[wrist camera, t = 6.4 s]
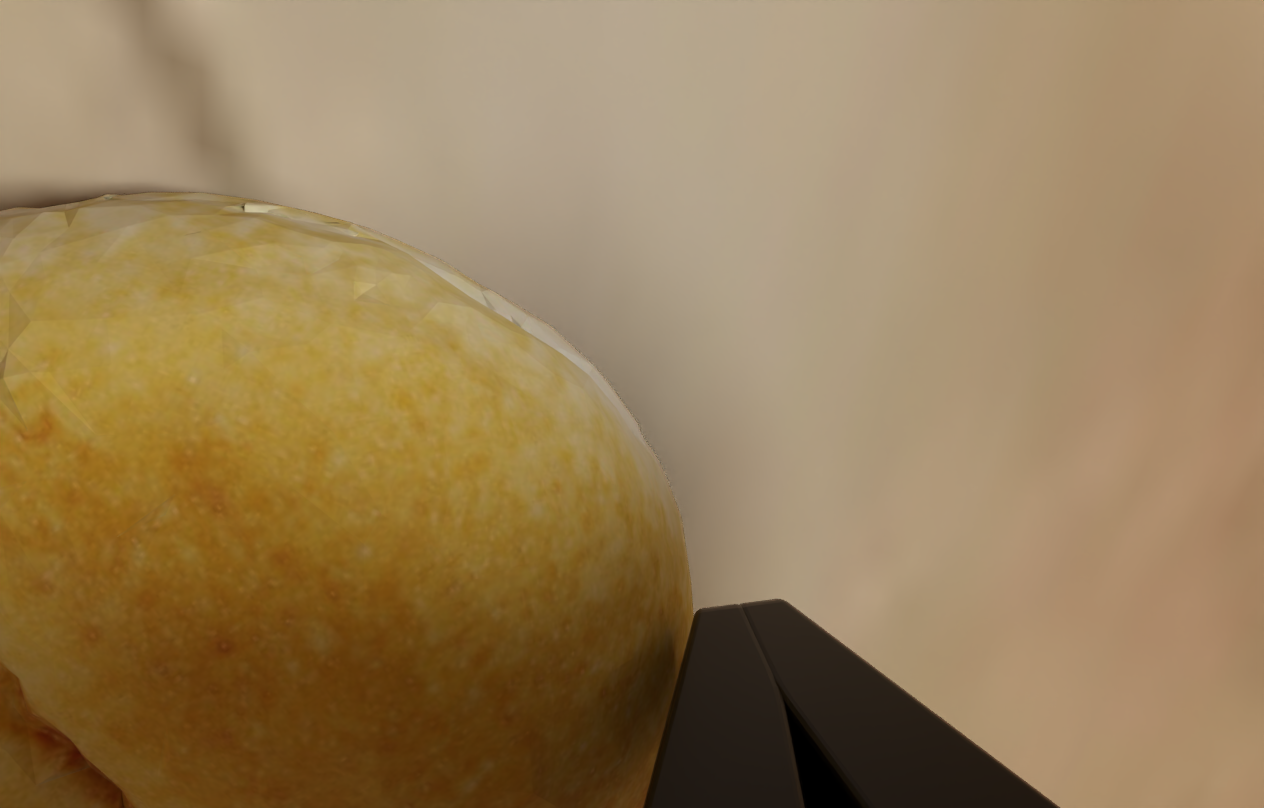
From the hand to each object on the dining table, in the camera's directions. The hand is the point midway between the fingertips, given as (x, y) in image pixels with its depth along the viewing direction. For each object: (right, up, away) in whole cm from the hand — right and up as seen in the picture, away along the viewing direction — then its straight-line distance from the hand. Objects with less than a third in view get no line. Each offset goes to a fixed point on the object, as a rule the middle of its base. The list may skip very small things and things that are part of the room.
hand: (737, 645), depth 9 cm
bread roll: (-5, 0, +2) cm, 6 cm away
